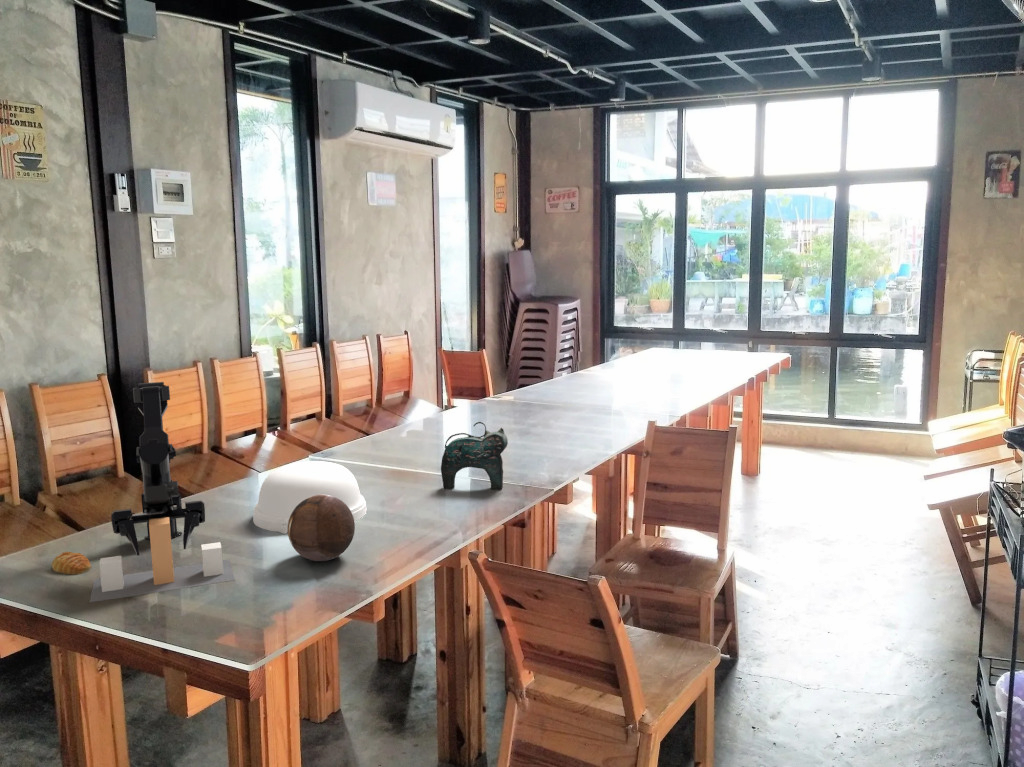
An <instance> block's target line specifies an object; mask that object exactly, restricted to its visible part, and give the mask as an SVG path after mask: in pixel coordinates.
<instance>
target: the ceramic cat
mask: <svg viewBox="0 0 1024 767" xmlns="http://www.w3.org/2000/svg"><path fill="white" fill-rule="evenodd" d="M477 424H482V425H483V426H484V434H483V435H481V436H477V435H472V434H469V433H466V432H461V433H455V434H452V435H450V436H449V437H448V438H447V440H446V441H445V443H444V450H443V455H442V457H441V463H440V464H441V465H440V473H441V474H440V475H441V479H442V480H441V481H442V487H443V489H444V490H454V489H455V486H456V485H455V481H456V480H455V479H456V475H457V473H458V472H459V471H461V470H463V469H466V468H473V469H479V470H480V469H481V470H484V471H485V473H486V474H487V475H488V477H489V482H490V490H502V488H503V485H504V468H503V466H504V465H503V462H504V461H503V458H502V455H501V454H502V453H503V452H504V451H505V450H506V448H507V447H508V443H509V442H508V437H507V435H506V434H505V430H504V428H502V427H500V428H499V430H497V431H491V432H490V431H489V430H487V427H486V424H485V423H484V422H482V421H477V422H475V423H474V424H473V427H475V426H476V425H477ZM461 435H464V436H465V435H466V436H465V437H458V438H456V439H453V440H452V441H450V439H452V438H453V437H456V436H461ZM448 441H450V442H449V443H448ZM447 443H448V444H447Z"/></svg>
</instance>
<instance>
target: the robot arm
mask: <svg viewBox="0 0 1024 767" xmlns="http://www.w3.org/2000/svg"><path fill="white" fill-rule="evenodd" d="M137 385H138V386H137V387H133V388H132V391H133V402H134V403H137V409H138V410H139V412H140V413H141V414H142V416H143V425H144V426H143V430H144V431H143V433H142V434H140V436H139V442H138V443H139V446H137V447H136V448H135V449H136V455H135V456H136V463H140V468H141V473H142V482H143V483H142V486H143V488H142V489H143V493H141V495H140V496H141V498H140V499H141V509H142V513H136V514H133V511H132V508H127V509H118V510H113V511H112V513H111V516H110V517H111V518H110V520H111V526H112V530H113V534H116V535H117V534H119V535H120V536H121V537H126V538H127V540H128V541H129V543H131V546H132V548H133V551H135V553H136V556H140V547H139V541H138V538H137V533H136V529H135V524H142V523H146V528H147V535H146V536H144V537H143V538H144V540H146V541H147V540H149V541H150V531H149V519H157V518H165V517H169V521H170V533H171V539H173V537H174V538H176V537H178V536H177V535H179V534H181V535H182V534H183V535H182V536H183V538H182V541H183V542H182V544H183V550H186V549H187V546H188V542H189V540H190V538H191V535H192V532H193V531H194V529H195V528H196V527H199V526H200V524H203V523H205V522H206V510H205V509H206V507H205V502H204V501H202V500H201V499H200V500H192V501H184V504H185V506H184V507H185V508H183V507H182V506H183V505H182V494H180V493H179V483H178V480H172V478H171V470H170V463H171V460H173V459H174V457H176V456H177V453H176V452H177V450H176V448H175V447H174V445H173V443H170V442H169V434H168V433H167V432H165V431H164V425H163V424H164V423H163V417H164V414H165V413H166V411H167V409H168V407H169V406H168V401H170V400H171V396H170V395H171V394H170V385H165V382H164V381H157V382H143V383H142V382H141V383H140V382H139V383H138V384H137ZM177 519H183V521H184V522H183V532H182V531H178V526H177ZM175 536H176V537H175ZM179 536H180V535H179Z"/></svg>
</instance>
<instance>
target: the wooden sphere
mask: <svg viewBox="0 0 1024 767" xmlns="http://www.w3.org/2000/svg"><path fill="white" fill-rule="evenodd" d="M355 523H356V521H355V522H354V517H353V515H352V512H351V511H350V509H349V508H348V506H347V505H346V504H345V503H344V502H343V501H341V500H340V499H338V498H336V497H333V496H330V495H315V496H311V497H309V498H307V499H305V500H303V501H302V502H301V503H299V504H298V505H297V506H296V508H295V509H294V510H293V512H292V514H291V516H290V518H289V522H288V533H287V536H288V539H289V542H290V545H291V546H292V547H293V549H294V550H295V551H296V553H298V554H299V555H300V556H301V557H303V558H305V559H307V560H309V561H313V562H326V561H330V560H334V559H335V558H337V557H339V556H341V555H342V554H343V553H344V552H345V551H346V550H348V548H349V546H350V545H351V543H352V541H353V539H354V536H355V530H356V524H355Z"/></svg>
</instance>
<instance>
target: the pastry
mask: <svg viewBox="0 0 1024 767" xmlns="http://www.w3.org/2000/svg"><path fill="white" fill-rule="evenodd" d="M51 568H52V570H53V571H54V572H55V573H61V574H67V575H81V574H84V573H87V572H89V571H90V570H91V569H92V564H91V561H90V560H89V558H88V557H87V556H85V555H84V554H83V553H81V552H73V551H64V552H61V553H60V554H59V555H57V556H55V558H54V559H53V560H52V563H51Z"/></svg>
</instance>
